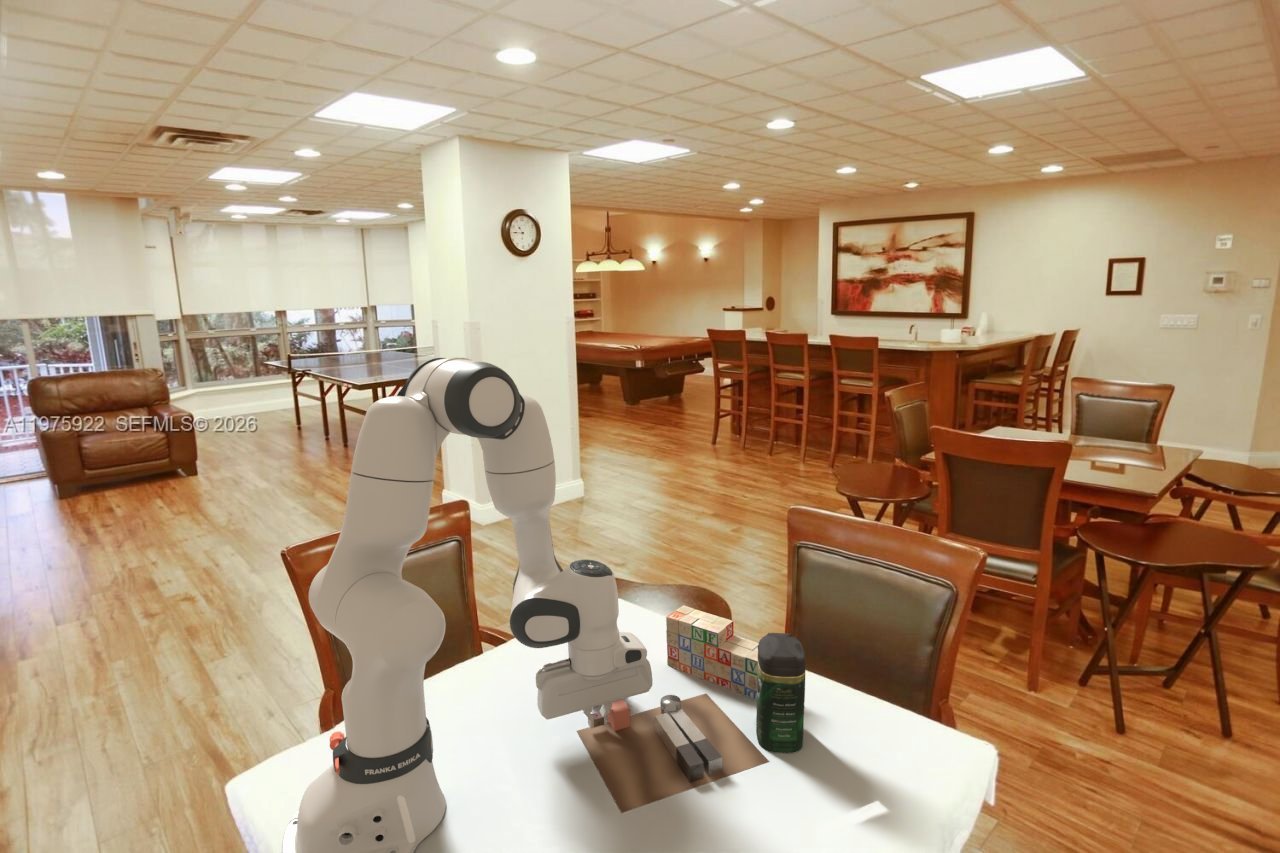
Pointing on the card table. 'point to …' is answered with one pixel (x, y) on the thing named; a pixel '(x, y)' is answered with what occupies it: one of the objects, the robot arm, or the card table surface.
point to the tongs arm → (678, 740)
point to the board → (663, 754)
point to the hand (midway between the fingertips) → (597, 724)
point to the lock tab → (619, 715)
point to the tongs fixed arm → (698, 743)
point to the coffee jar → (780, 693)
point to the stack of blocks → (712, 650)
